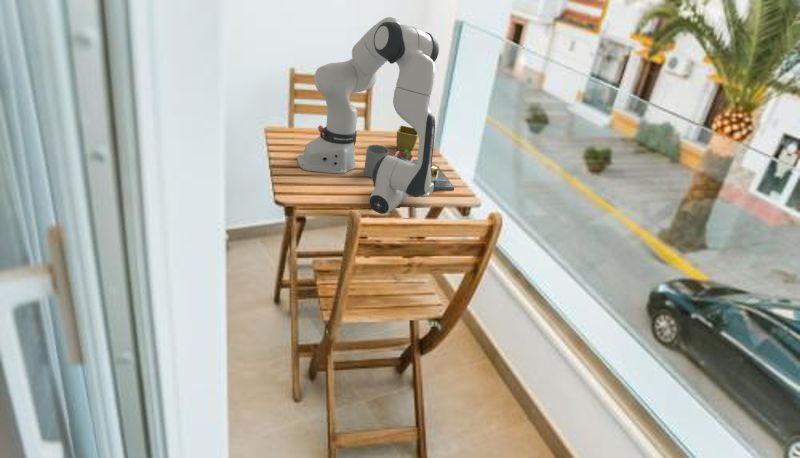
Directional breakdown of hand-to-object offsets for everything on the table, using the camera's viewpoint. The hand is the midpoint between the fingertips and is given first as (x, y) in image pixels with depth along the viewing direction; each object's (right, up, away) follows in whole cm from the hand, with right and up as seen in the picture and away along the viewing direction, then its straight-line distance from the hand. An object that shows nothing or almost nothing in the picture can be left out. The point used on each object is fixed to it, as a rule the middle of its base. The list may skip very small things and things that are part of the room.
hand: (413, 174), depth 188 cm
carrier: (+8, -1, +14) cm, 16 cm away
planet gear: (0, -5, +5) cm, 7 cm away
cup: (-15, +1, +11) cm, 18 cm away
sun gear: (+7, +2, +19) cm, 20 cm away
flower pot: (-3, +14, +37) cm, 40 cm away
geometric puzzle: (-4, +6, +22) cm, 23 cm away
